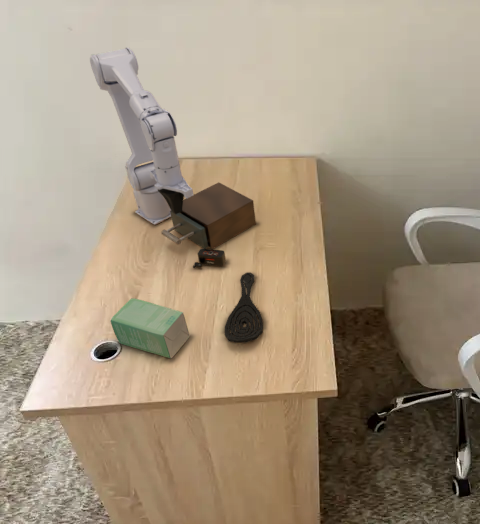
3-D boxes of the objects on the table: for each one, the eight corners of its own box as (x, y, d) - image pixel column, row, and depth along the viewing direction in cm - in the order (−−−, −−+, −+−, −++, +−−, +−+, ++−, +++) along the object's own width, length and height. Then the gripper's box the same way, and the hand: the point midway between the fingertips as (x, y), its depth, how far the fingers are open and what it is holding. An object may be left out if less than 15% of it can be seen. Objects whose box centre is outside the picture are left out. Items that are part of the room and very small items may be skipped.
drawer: (187, 259, 144) (182, 239, 140) (156, 239, 150) (151, 219, 147) (247, 225, 156) (244, 206, 152) (216, 207, 162) (213, 189, 158)
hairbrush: (264, 264, 139) (260, 335, 119) (266, 277, 141) (262, 348, 121) (230, 266, 138) (220, 338, 118) (232, 278, 141) (222, 351, 120)
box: (138, 320, 128) (130, 295, 123) (190, 336, 124) (184, 311, 120) (117, 343, 123) (107, 318, 118) (171, 360, 119) (164, 335, 114)
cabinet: (212, 249, 148) (207, 225, 144) (178, 228, 156) (173, 204, 151) (256, 224, 157) (253, 200, 153) (222, 205, 165) (218, 182, 160)
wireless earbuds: (199, 258, 146) (197, 247, 144) (226, 260, 145) (225, 250, 143) (192, 269, 142) (190, 259, 140) (220, 272, 141) (218, 262, 139)
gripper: (134, 159, 136) (146, 207, 145) (171, 180, 129) (181, 229, 138) (159, 149, 141) (170, 196, 149) (196, 168, 133) (205, 217, 142)
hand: (177, 211), depth 144 cm, fingers closed
